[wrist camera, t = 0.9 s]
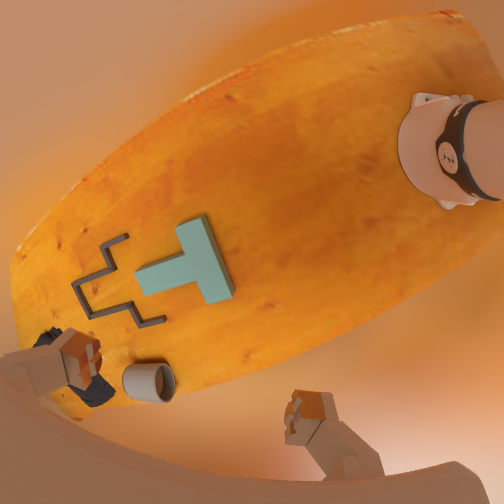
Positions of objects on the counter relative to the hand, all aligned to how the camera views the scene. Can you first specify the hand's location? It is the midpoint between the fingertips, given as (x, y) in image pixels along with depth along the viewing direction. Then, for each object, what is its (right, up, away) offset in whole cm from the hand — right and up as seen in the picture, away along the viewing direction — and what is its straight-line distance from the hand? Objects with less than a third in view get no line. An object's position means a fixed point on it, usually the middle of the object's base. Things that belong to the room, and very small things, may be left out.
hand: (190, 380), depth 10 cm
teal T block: (-8, +3, +32) cm, 33 cm away
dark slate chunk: (-40, -22, +42) cm, 62 cm away
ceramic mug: (-16, -19, +39) cm, 46 cm away
